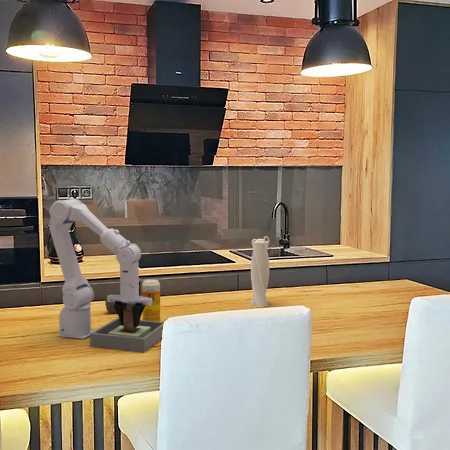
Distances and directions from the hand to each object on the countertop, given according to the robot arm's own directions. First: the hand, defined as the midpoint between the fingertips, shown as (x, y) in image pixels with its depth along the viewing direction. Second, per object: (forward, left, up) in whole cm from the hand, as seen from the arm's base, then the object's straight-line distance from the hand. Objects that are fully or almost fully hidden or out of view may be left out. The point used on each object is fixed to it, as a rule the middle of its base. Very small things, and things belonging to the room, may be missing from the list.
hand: (129, 325), depth 174 cm
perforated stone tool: (-17, +30, -5) cm, 35 cm away
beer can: (-1, +19, -5) cm, 20 cm away
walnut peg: (0, 0, -3) cm, 3 cm away
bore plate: (0, 0, -5) cm, 5 cm away
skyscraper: (+30, +54, -5) cm, 62 cm away
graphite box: (0, 0, -5) cm, 5 cm away
